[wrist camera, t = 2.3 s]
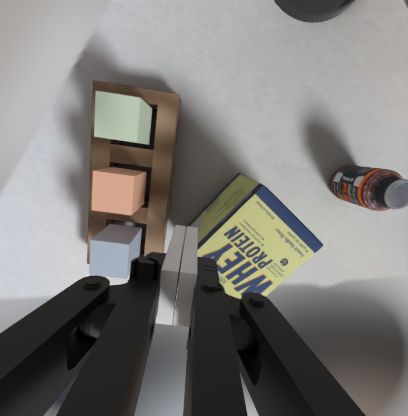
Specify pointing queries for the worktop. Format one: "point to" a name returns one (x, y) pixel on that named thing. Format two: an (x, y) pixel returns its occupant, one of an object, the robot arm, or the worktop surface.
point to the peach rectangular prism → (118, 190)
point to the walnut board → (156, 159)
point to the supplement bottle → (370, 187)
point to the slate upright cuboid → (114, 250)
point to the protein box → (252, 238)
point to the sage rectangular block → (122, 118)
